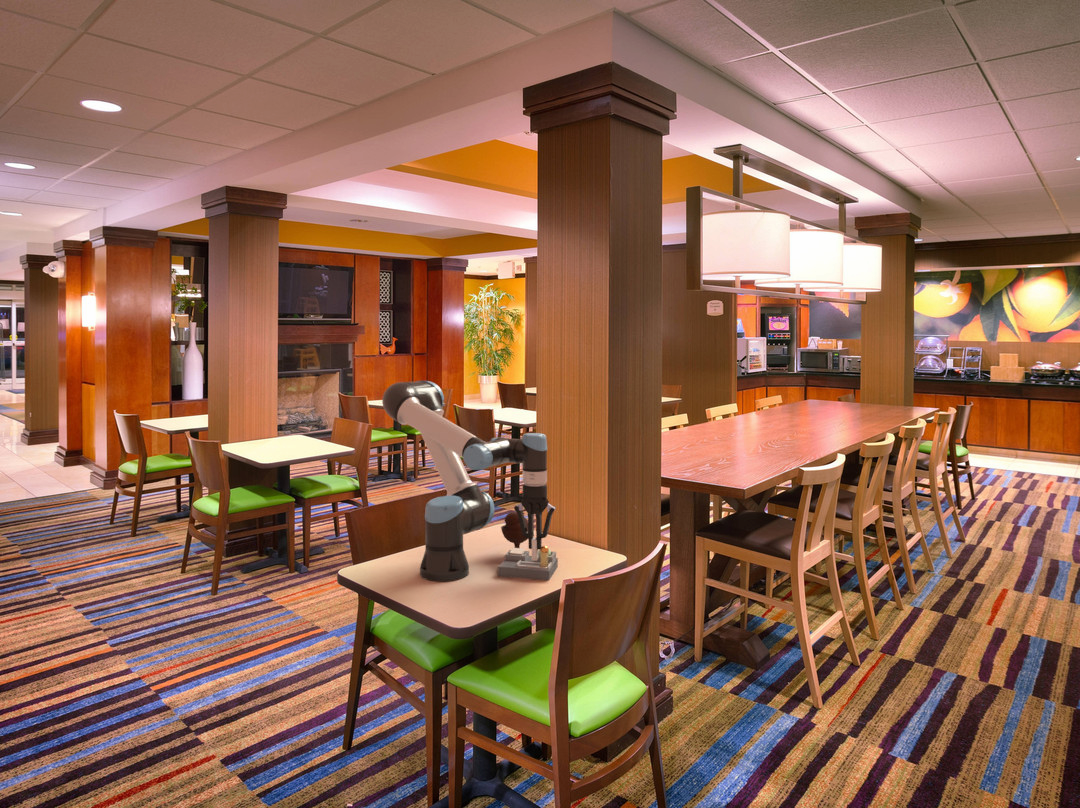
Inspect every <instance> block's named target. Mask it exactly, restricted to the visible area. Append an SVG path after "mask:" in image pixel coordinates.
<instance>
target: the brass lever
mask: <svg viewBox="0 0 1080 808" xmlns="http://www.w3.org/2000/svg"><path fill="white" fill-rule="evenodd" d="M549 549H550V548H549V547H548V546H547V545H542V547H541V549H540V551H541V567H547V566H548V552H549Z"/></svg>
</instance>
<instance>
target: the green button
mask: <svg viewBox="0 0 1080 808" xmlns="http://www.w3.org/2000/svg"><path fill="white" fill-rule="evenodd" d="M548 549H549V552H548V556H551V549H550V548H548ZM538 551H539V556H541V551H540V550H539V549H538Z"/></svg>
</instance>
